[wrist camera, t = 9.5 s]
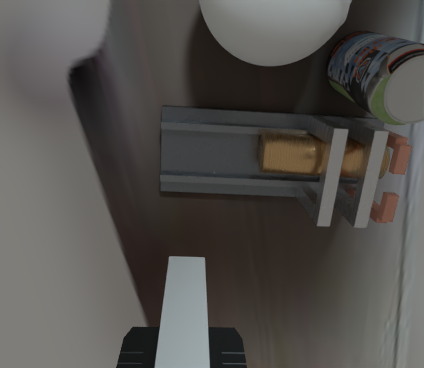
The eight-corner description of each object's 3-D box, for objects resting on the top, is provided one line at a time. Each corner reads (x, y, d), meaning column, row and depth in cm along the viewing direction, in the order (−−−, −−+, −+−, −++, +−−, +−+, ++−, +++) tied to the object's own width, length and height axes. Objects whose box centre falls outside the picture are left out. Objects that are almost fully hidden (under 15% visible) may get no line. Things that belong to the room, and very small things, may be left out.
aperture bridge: (360, 123, 37) (401, 139, 29) (369, 123, 37) (413, 140, 30) (346, 194, 39) (380, 226, 32) (354, 195, 40) (391, 226, 32)
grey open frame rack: (162, 105, 36) (161, 107, 35) (380, 118, 38) (388, 121, 36) (161, 187, 39) (159, 193, 38) (362, 196, 41) (370, 202, 39)
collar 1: (308, 115, 36) (334, 128, 30) (319, 115, 36) (348, 129, 30) (295, 196, 39) (316, 226, 32) (306, 197, 39) (329, 226, 33)
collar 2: (341, 117, 36) (375, 130, 30) (353, 117, 37) (389, 131, 30) (326, 198, 39) (353, 227, 33) (337, 198, 40) (366, 228, 33)
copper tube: (257, 175, 37) (265, 170, 33) (258, 137, 38) (266, 127, 33) (368, 181, 38) (389, 177, 34) (368, 143, 38) (389, 135, 34)
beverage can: (379, 24, 35) (468, 9, 23) (385, 98, 37) (469, 117, 26) (316, 42, 35) (373, 34, 24) (326, 114, 37) (383, 139, 26)
